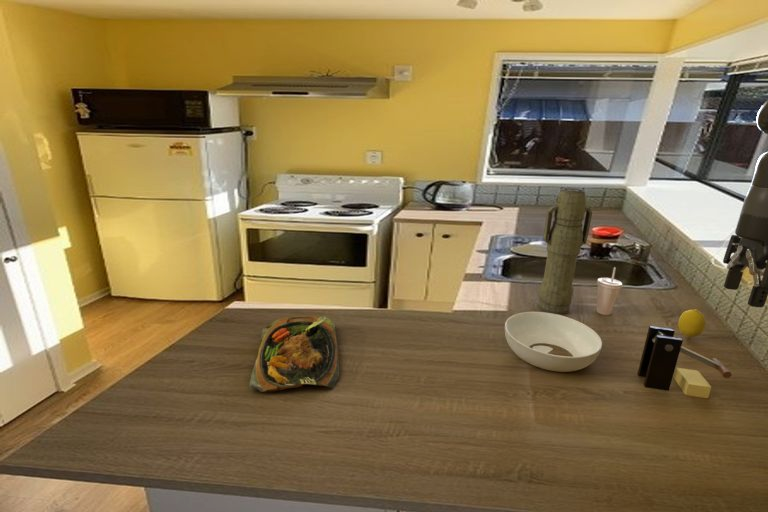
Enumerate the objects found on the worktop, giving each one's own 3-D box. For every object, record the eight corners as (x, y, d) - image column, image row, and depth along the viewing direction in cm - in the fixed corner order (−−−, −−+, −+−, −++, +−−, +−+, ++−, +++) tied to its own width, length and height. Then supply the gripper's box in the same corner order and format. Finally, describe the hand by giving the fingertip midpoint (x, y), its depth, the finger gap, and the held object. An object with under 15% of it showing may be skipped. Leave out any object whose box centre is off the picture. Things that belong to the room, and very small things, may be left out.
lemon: (699, 335, 111) (707, 308, 109) (701, 344, 107) (710, 316, 104) (674, 330, 114) (681, 303, 111) (675, 338, 109) (683, 310, 107)
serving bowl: (499, 373, 92) (503, 345, 90) (503, 330, 111) (506, 306, 109) (604, 393, 87) (611, 364, 84) (589, 344, 106) (594, 319, 103)
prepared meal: (341, 373, 84) (247, 378, 81) (340, 388, 85) (248, 393, 82) (334, 315, 111) (263, 317, 108) (334, 327, 112) (264, 329, 109)
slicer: (664, 378, 92) (678, 325, 88) (681, 403, 84) (698, 346, 80) (624, 372, 94) (636, 320, 90) (637, 396, 86) (651, 340, 82)
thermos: (527, 301, 129) (544, 187, 118) (564, 300, 130) (584, 187, 119) (541, 314, 121) (560, 192, 110) (580, 313, 122) (603, 192, 111)
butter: (695, 382, 91) (700, 367, 90) (715, 409, 83) (721, 392, 82) (664, 378, 92) (668, 363, 91) (681, 403, 84) (686, 387, 83)
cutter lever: (714, 367, 87) (722, 358, 86) (726, 381, 83) (735, 372, 82) (649, 336, 88) (656, 327, 88) (657, 348, 84) (665, 339, 83)
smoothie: (609, 319, 119) (619, 272, 115) (587, 311, 124) (596, 266, 119) (619, 313, 123) (629, 268, 119) (597, 305, 128) (606, 261, 123)
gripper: (823, 223, 67) (790, 315, 72) (769, 206, 80) (744, 285, 86) (768, 219, 69) (739, 310, 74) (724, 203, 82) (702, 281, 87)
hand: (742, 297), depth 80 cm, fingers open, 8 cm apart
